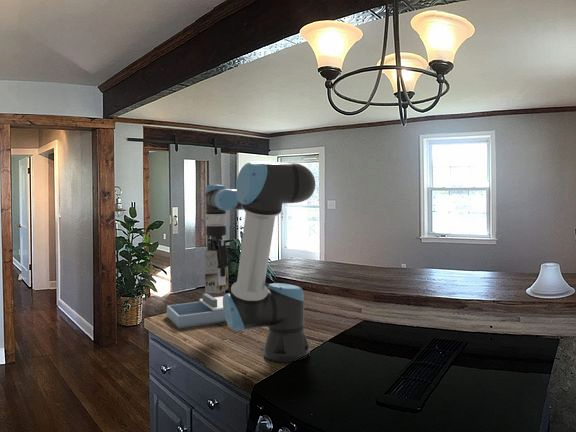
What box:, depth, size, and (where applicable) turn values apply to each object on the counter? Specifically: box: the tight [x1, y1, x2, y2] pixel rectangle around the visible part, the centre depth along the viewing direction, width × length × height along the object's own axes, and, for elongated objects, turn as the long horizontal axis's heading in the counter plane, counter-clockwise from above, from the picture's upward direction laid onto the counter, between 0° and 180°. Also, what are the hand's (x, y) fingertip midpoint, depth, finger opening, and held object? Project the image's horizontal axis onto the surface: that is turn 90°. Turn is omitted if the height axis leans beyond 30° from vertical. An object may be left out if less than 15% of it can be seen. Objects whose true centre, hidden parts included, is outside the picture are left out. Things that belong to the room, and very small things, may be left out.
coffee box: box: [204, 247, 229, 294], centre depth 167 cm, size 9×6×16 cm
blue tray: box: [166, 301, 227, 330], centre depth 187 cm, size 20×20×5 cm
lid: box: [199, 292, 224, 311], centre depth 193 cm, size 20×20×4 cm
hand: (217, 282), depth 167 cm, fingers closed on coffee box, 10 cm apart
